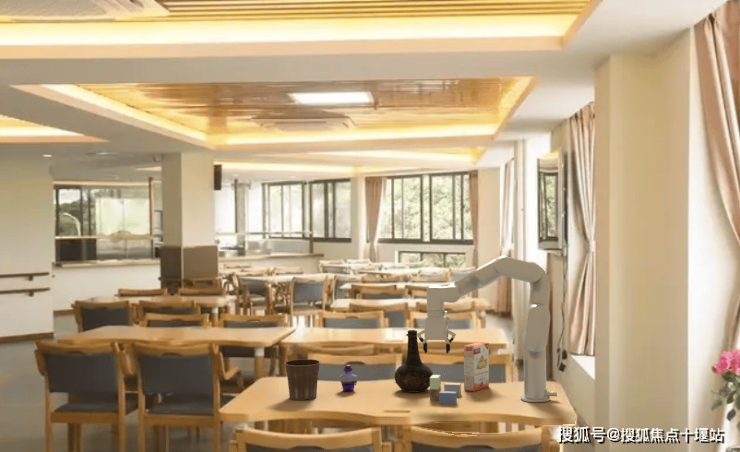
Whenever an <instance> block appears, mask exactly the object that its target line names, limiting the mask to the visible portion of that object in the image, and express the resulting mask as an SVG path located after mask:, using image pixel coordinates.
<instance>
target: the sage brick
mask: <svg viewBox="0 0 740 452" xmlns="http://www.w3.org/2000/svg"><path fill="white" fill-rule="evenodd" d="M441 378H442V377H441V374H433V375H432V376H431V377H430V386H429V390H430V389H439V388H440V386H441V385H442V384H441V383H442V381H441ZM441 387H442V386H441Z"/></svg>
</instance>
